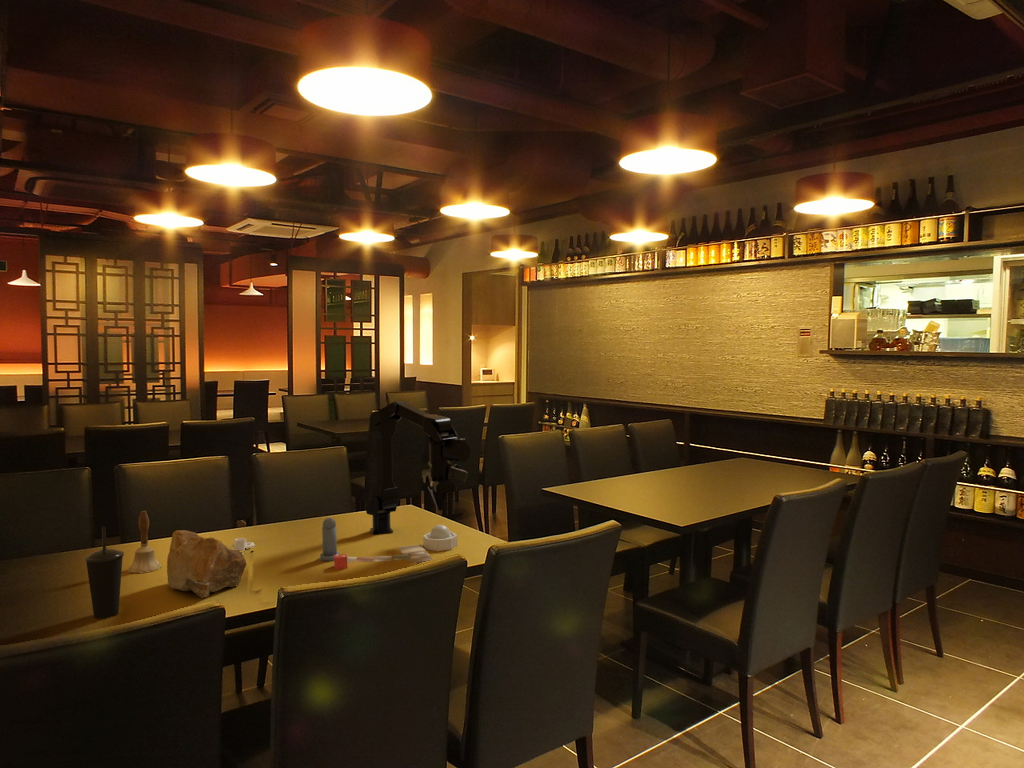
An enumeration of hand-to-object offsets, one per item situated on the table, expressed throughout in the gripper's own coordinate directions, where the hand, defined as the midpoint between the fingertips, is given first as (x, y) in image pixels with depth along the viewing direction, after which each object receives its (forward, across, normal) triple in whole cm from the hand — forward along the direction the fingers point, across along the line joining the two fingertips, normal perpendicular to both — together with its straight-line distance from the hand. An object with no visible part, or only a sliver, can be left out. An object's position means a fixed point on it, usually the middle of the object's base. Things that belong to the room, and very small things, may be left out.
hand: (439, 510), depth 210 cm
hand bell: (+11, +6, +81) cm, 82 cm away
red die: (+10, -14, +31) cm, 35 cm away
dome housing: (+11, 0, 0) cm, 11 cm away
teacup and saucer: (+12, +15, +54) cm, 57 cm away
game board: (+11, -8, +21) cm, 25 cm away
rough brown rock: (+11, -16, +63) cm, 66 cm away
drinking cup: (+11, -28, +84) cm, 89 cm away
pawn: (+10, -5, +33) cm, 35 cm away
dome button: (+11, 0, 0) cm, 11 cm away
